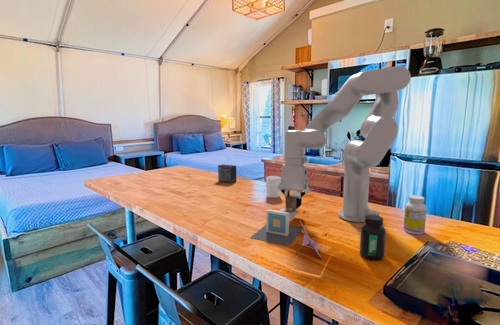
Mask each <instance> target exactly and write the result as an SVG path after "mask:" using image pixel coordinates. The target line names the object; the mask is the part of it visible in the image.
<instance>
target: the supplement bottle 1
mask: <svg viewBox="0 0 500 325" xmlns="http://www.w3.org/2000/svg"><path fill="white" fill-rule="evenodd" d="M386 230H387V229H386V228H385V227H384V218H383V217H382V216H380V215H379V216H377V215H366V216H365V222H364V223H363V224H362V225H361V227H360V237H359V255H360V256H361V257H362V258H363V259H365V258H366V259H365V260H368V259H369V260H368V261H372V260H375V261H374V262H379V261H378V260H380V261H382V260H383V259H384V258H385V251H386V239H387V231H386Z"/></svg>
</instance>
